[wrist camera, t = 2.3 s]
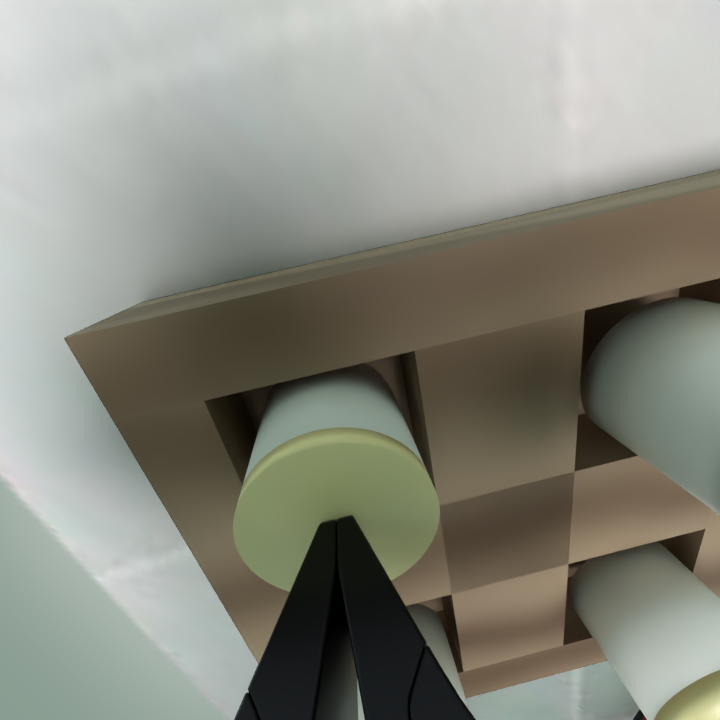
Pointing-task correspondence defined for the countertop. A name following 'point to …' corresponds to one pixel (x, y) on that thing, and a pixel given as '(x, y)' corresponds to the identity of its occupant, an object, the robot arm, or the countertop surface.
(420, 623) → the dark button
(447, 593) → the wooden grid tray
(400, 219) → the countertop surface
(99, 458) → the countertop surface
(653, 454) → the dark button
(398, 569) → the lit button
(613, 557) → the lit button
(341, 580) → the robot arm
